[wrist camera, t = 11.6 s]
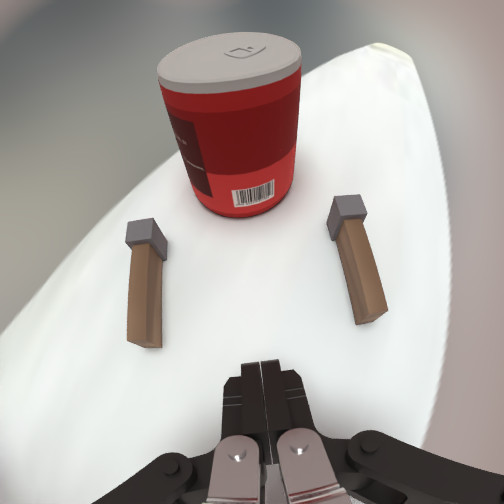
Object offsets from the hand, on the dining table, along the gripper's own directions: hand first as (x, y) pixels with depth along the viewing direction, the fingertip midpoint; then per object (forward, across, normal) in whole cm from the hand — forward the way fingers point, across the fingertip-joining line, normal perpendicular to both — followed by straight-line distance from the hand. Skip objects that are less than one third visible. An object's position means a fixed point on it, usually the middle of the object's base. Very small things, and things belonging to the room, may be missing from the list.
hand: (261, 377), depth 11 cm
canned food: (+14, 0, -7) cm, 16 cm away
